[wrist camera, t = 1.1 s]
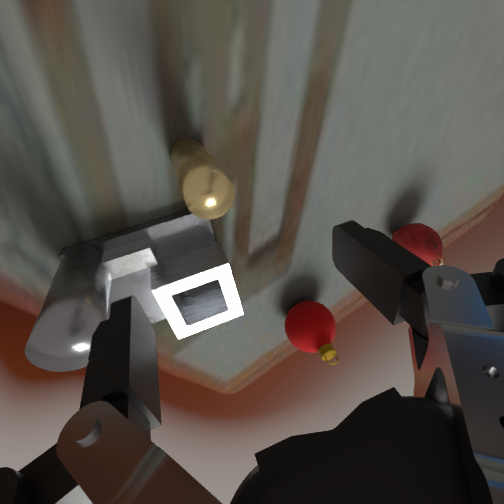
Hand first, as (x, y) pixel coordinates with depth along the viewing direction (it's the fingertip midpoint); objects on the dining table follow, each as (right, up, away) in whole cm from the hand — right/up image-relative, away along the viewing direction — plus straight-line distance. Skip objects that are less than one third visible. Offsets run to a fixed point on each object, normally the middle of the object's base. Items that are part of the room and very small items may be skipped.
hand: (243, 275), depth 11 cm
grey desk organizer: (-10, -1, +20) cm, 23 cm away
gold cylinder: (-5, +10, +15) cm, 18 cm away
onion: (+21, +4, +29) cm, 36 cm away
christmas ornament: (+7, -8, +32) cm, 33 cm away
